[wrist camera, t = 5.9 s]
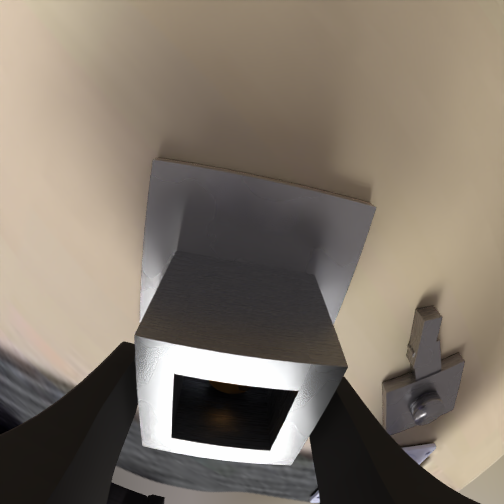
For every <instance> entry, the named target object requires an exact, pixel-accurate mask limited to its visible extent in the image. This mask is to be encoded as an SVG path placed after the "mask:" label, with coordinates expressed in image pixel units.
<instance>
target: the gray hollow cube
mask: <svg viewBox="0 0 504 504" xmlns="http://www.w3.org/2000/svg"><path fill="white" fill-rule="evenodd" d="M134 336H135V363H136V381H137V395H138V407H139V417H140V427H141V436H142V444H143V446H146V447H150V448H155V449H159V450H164V451H169V452H174V453H179V454H185V455H191V456H197V457H203V458H210V459H218V460H226V461H235V462H246V463H258V464H275V465H291V464H292V462H293V461H294V459H295V458H296V456H297V455H298V453H299V452H300V450H301V449H302V447H303V445H304V444H305V442H306V441H307V439H308V437H309V436H310V434H311V432H312V431H313V429H314V428H315V426H316V424H317V422H318V421H319V419H320V417H321V416H322V414H323V412H324V410H325V409H326V407H327V405H328V403H329V402H330V400H331V398H332V396H333V394H334V393H335V391H336V389H337V387H338V385H339V383H340V381H341V380H342V378H343V376H344V374H345V372H346V370H347V368H348V365H347V363H346V360H345V357H344V354H343V351H342V348H341V345H340V342H339V340H338V337H337V334H336V331H335V328H334V326H333V323H332V320H331V317H330V315H329V312H328V309H327V307H326V304H325V301H324V298H323V296H322V293H321V290H320V288H319V285H318V283H317V280H316V277H315V275H313V274H307V273H301V272H295V271H289V270H284V269H278V268H272V267H266V266H261V265H255V264H249V263H244V262H238V261H232V260H227V259H221V258H216V257H210V256H205V255H199V254H193V253H188V252H182V251H177V250H176V252H175V254H174V256H173V258H172V260H171V262H170V264H169V266H168V268H167V270H166V272H165V274H164V276H163V278H162V280H161V282H160V284H159V286H158V288H157V290H156V292H155V294H154V296H153V298H152V300H151V302H150V304H149V306H148V308H147V310H146V312H145V314H144V316H143V318H142V321H141V323H140V325H139V327H138V329H137V331H136V333H135V335H134ZM209 380H212V381H219V382H225V383H232V384H239V385H247V386H253V387H252V388H250V389H249V390H247V391H245V392H242V393H237V394H230V393H224V392H221V391H219V390H217V389H215V388H214V387H213V386H212V385H211V384H210V382H209Z"/></svg>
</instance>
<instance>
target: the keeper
mask: <svg viewBox="0 0 504 504" xmlns="http://www.w3.org/2000/svg"><path fill="white" fill-rule="evenodd" d="M375 210H376V207H375V206H374V205H373V204H371V203H369V202H366V201H362V200H358V199H354V198H351V197H347V196H343V195H339V194H335V193H331V192H327V191H323V190H319V189H315V188H311V187H307V186H303V185H299V184H294V183H290V182H285V181H281V180H276V179H272V178H267V177H263V176H258V175H253V174H248V173H243V172H238V171H233V170H228V169H223V168H217V167H212V166H206V165H201V164H195V163H189V162H183V161H177V160H171V159H165V158H155V159H153V163H152V170H151V177H150V185H149V193H148V202H147V211H146V221H145V232H144V244H143V258H142V275H141V297H140V323H141V321H142V318H143V316H144V314H145V312H146V310H147V308H148V306H149V304H150V302H151V300H152V298H153V296H154V294H155V292H156V290H157V288H158V286H159V284H160V282H161V280H162V278H163V276H164V274H165V272H166V270H167V268H168V266H169V264H170V262H171V260H172V258H173V256H174V254H175V252H176V250H177V251H182V252H188V253H193V254H199V255H205V256H210V257H216V258H221V259H227V260H232V261H238V262H244V263H249V264H255V265H261V266H266V267H272V268H278V269H284V270H289V271H295V272H301V273H307V274H313V275H315V277H316V280H317V283H318V285H319V288H320V290H321V293H322V296H323V298H324V301H325V304H326V307H327V309H328V312H329V315H330V317H331V320H332V323H333V324H334V322H335V320H336V317H337V315H338V312H339V310H340V307H341V305H342V302H343V300H344V297H345V295H346V292H347V290H348V287H349V284H350V282H351V279H352V277H353V274H354V271H355V268H356V266H357V263H358V260H359V257H360V255H361V252H362V249H363V246H364V243H365V240H366V237H367V234H368V232H369V229H370V226H371V222H372V219H373V216H374V213H375ZM209 382H210V384H211V385H212V386H213V387H214V388H215V389H217V390H219V391H221V392H224V393H230V394H237V393H242V392H245V391H247V390H249V389H250V388H252V387H253V386H247V385H239V384H232V383H225V382H219V381H212V380H209Z"/></svg>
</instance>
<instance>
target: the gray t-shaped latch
mask: <svg viewBox="0 0 504 504" xmlns="http://www.w3.org/2000/svg"><path fill="white" fill-rule="evenodd" d="M441 321H442V316H441V315H440V313H439V312H438V311H437V310H436V309H435V307H434V306H429V307H424V308H419V309H416V311H415V317H414V322H413V327H412V333H411V337H410V342H409V345H408V351H407V358H408V360H409V361H410V363H411V370H412V372H410V373H408V374H405V375H402V376H400V377H397V378H394V379H391V380H388V381H385V382H383V383H382V396H383V428H384V429H385V430H386V431H387V433H388V434H389V435H392V434H395V433H398V432H401V431H403V430H406V429H409V428H411V427H414V426H417V425H425V424H428V423H430V422H432V421H434V420H435V419H437V418H438V417H439V416H441V415H443V414H445V413H447V412H449V411H452V410H453V408H454V404H455V401H456V397H457V393H458V389H459V385H460V381H461V376H462V372H463V367H464V362H465V361H464V359H463V358H462V356H461V355H460V354H459V353H456V354H454V355H452V356H450V357H447V358H445V359H443V360H441V351H440V340H439V338H438V333H439V329H440V325H441Z"/></svg>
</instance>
